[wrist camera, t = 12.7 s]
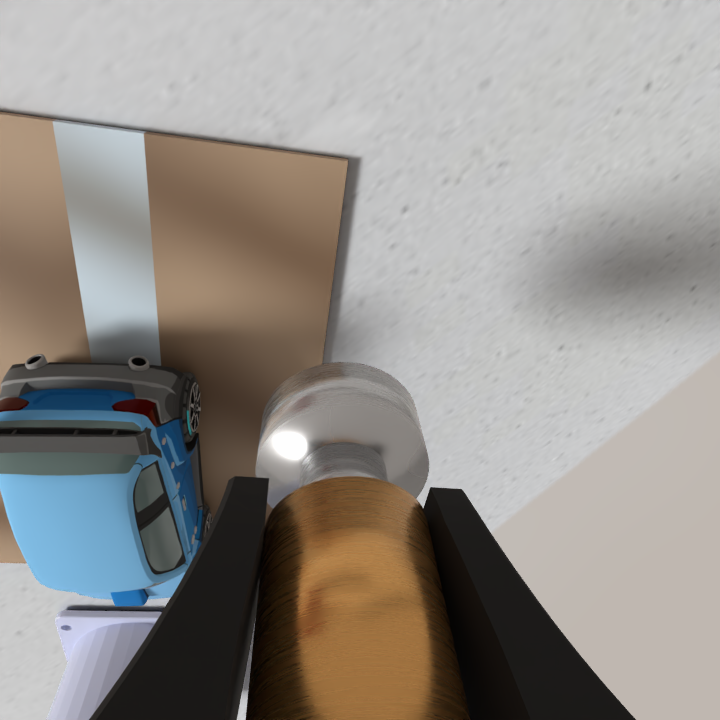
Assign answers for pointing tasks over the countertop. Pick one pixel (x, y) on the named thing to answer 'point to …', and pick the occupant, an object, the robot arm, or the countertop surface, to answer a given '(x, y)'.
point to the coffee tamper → (348, 558)
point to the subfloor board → (167, 267)
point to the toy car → (103, 475)
